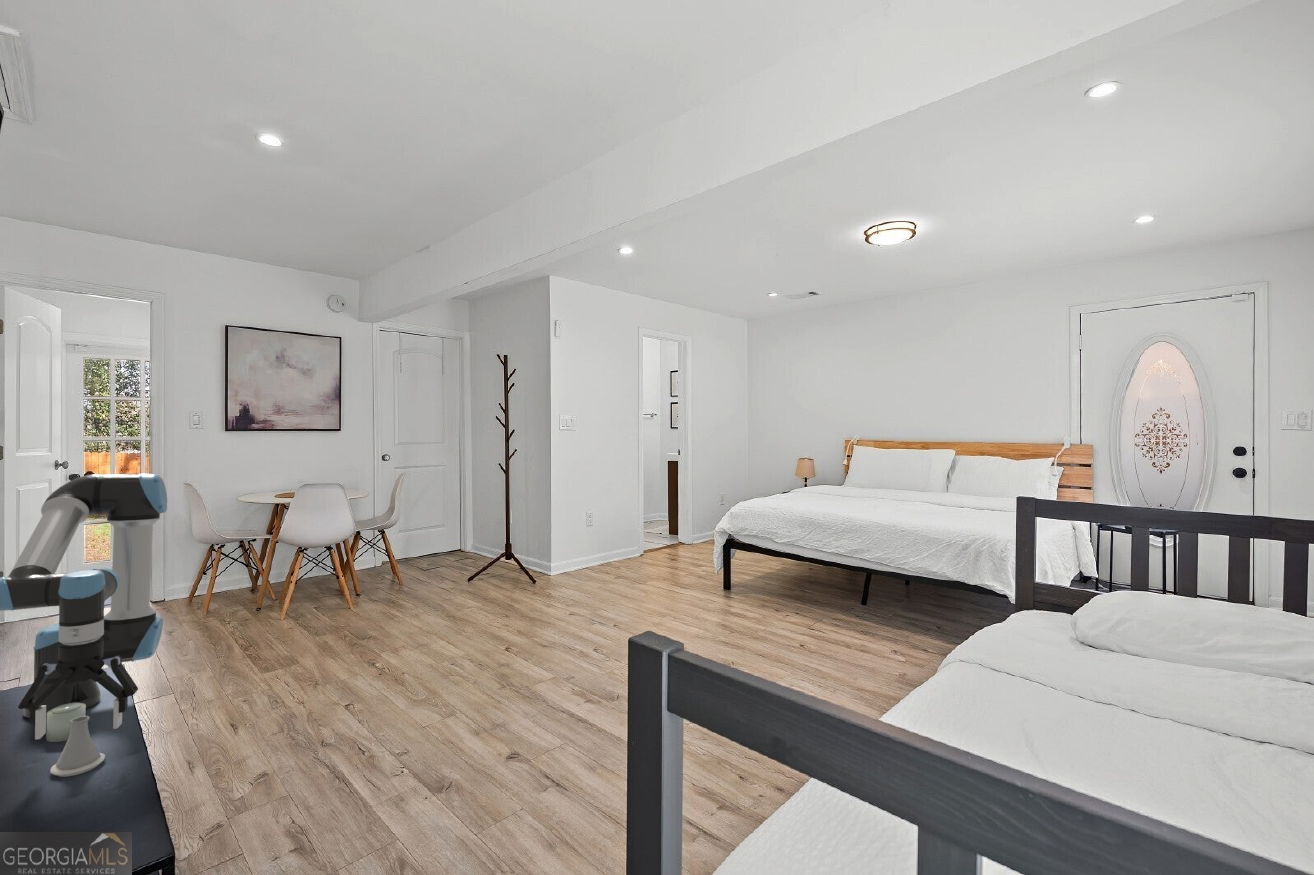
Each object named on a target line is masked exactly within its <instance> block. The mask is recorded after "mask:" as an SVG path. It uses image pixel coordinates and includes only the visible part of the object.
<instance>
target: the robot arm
mask: <svg viewBox="0 0 1314 875" xmlns="http://www.w3.org/2000/svg"><path fill="white" fill-rule="evenodd" d="M167 494H168V493H167V489H166V484H165V481H164V479H163V478H162V477H161V476H160V475H158V474H155V473H142V472H141V473H106V474H105V473H104V474H103V473H93V474H87V475H84V476H80V477H76V478H74V479H72V480H70V481H68V482H66V483H64V484H63V485H61V486H60V487H58V488H56V489H55V490H54V491H53V492H52V493H51V494H50V495H49V496H48V497H47V498H46V499H45V501H44V503H43V504H42V506H41V508H40V512H41V517H40V520H39V521H38V523H37V524H36V526H35V528H34V530H33V532H32V534H31V536H30V537H29V539H28V540H27V543H26V544H25V546H24V548H23V550H22V551H21V553H20V555H19V557H18V559H17V560H16V563H15V564H14V566H13V568H12V569H11V571H10V573H9V575H8V576H2V577H0V611H1V612H2V611H18V610H19V611H20V610H27V609H37V608H38V609H39V608H49V607H58V623H54V624H52V625H49V626H47V627H46V626H45V627H44V628H42V629H40V631H38V632H37V633H36V635H35V640H34V647H33V651H34V654H33V655H34V656H33V660H34V661H33V682H32V684H31V685H30V687H29V688H28V689H27V692H26V694H24V696H23V698H22V700H20V702H19V704H18V706H17V707H18V710H19V709H20V710H23V717H24V718H26V719H29V723H30V725H34V724H35V726H34V740H36V741H37V740H41V738H42V737H43V736H44V735H45V734H46V732H47V712H48V711H50V710H51V709H54V708H55V707H57V706H60V705H64V704H68V703H84V704H85V705H86V709H89V708H90V707H93V706H94V705H96V704H97V703H98V702H99V701H100V700H101V689H100V688H99V685H100V686H101V687H103V688H104V689H105V690H107V691H108V692H109V693H110V694H111V695H113V696H114V697H115V699H114V701H113V714H112V715H113V716H112V717H113V720H112V721H113V724H112V729H113V730H115V729H116V730H118V728H119V727H121V725H122V724H123V713H125V712H126V711H127V709H128V703H129V701H128V700H129V699H128V698H129V697H133V696H134V695H135V694H136V693H137V691H138V690H139V687H138V686H137V684H136V683H135V681H134V680H133V678H132V676H130V673H129V672H128V671H127V670H126V668H125V666H124V665H123V663H128V662H135V661H140V660H147V659H149V658H151V657H152V656H153V655H155V653H156V652H157V649H158V647H159V643H160V640H161V636H162V631H163V625H164V618H163V617H162V616H157V610H156V609H155V608H153V607H152V606H151V583H152V582H151V581H152V580H151V578H152V557H153V556H152V553H153V550H152V548H153V526H154V524H155V523H156V522H157V521H159V520H160V517H161V516H160V515H161V514H164V513H166V511H167V509H168V495H167ZM93 515H95V516H97V515H98V516H100V515H104V516H105V515H107V517H106V519H107V520H106V522H107V523H108V524H110V525H112V527H113V543H112V563H111V564H112V568H108V567H97V568H92V569H89V570H78V571H74V572H69V573H68V572H67V573H56V572H57V570H58V567H59V566H60V564H61V561H62V559H63V558H64V555H65V553H66V552H67V550H68V547H69V545H70V544H71V541H72V539H73V537H74V536H75V533H76V531H77V529H78V527H79V525H80V524H81V523H83V522H85V521H86V520H87V519H88V517H89V516H93ZM109 598H110V610H109V611H108V613H106V614H105V601H106V600H108V599H109ZM104 666H107V667H108V668H109V669H111V672H112V673H113V675H114V676H115V678H116V679H117V680H115V679H113V678H112V676H110V675H109V674H108V673H107V671H105V670H104V669H103V667H104ZM118 682H119V683H118Z"/></svg>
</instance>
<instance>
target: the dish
mask: <svg viewBox="0 0 1314 875" xmlns="http://www.w3.org/2000/svg"><path fill="white" fill-rule="evenodd" d="M99 753H100V755H101V757H100V758H98V759H97V760H95V761H94V762H92V763H90V764H87V765H85V766H82V767H79V768H76V769H63V770H60V769H59V768H57V767H56V763H55V764H53V765H52V767H51V768H50V772H49V773H50V774H51V775H53V776H56V777H60V778H66V777H73V776H77V775H81V774H84V773H87V772H89V771H92V770H93V769H95V768H97V767H99V765H100V764H101V763H103V762H104V760H105V758H106V754H105V753H103V752H100V751H99Z"/></svg>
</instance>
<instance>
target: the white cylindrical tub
mask: <svg viewBox="0 0 1314 875" xmlns="http://www.w3.org/2000/svg"><path fill="white" fill-rule="evenodd" d="M86 709H87V708H86V705H85V704H84V703H68V704H64V705H60V706H57V707H55V708H54V709H51V710H50V711H48V712H47V718H46V733H45V734H46V741H47V742H48V743H58V742H59V743H60V742H64V741H68V738H69V735H70V732H71V723H70V722H69V721H70V720H72V719H74V718H77V717H80V716H86Z"/></svg>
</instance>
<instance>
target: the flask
mask: <svg viewBox="0 0 1314 875" xmlns="http://www.w3.org/2000/svg"><path fill="white" fill-rule="evenodd" d="M89 720H90V716H89V715H85V716H80V717H77V718H74V719H72V720H70V721H69V722H70V723H71V732H70V735H69V738H68V740H66V743H65V746H64V747H63V750H62V751H61V753H60V755H59V757H58V759H57V762H56V763H55V764H56V767H57V768H59V769H60V770H63V769H76V768H79V767H82V766H85V765H87V764H90V763H92V762H94V761H95V760H97V759H98V758H100V757H101V755H100V753H101V752H100V751H99V750H98V748H97V746H96V745H95V743H94V740H93V738H92V736H91V735H90V729H89V726H88V725H89V723H88V722H89ZM99 752H100V753H99Z"/></svg>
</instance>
